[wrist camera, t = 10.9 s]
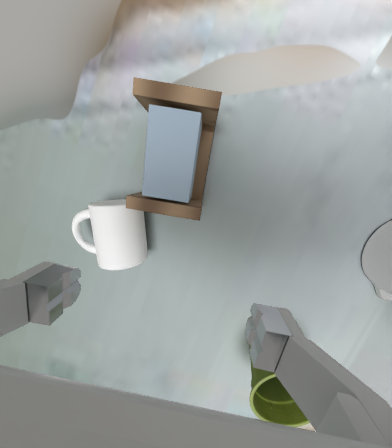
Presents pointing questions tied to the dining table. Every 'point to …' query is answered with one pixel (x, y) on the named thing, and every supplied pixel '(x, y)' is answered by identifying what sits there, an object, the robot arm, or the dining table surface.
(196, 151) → the light blue block
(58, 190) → the dining table surface
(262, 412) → the plant pot
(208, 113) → the stand
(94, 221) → the mug
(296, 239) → the dining table surface
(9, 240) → the dining table surface
